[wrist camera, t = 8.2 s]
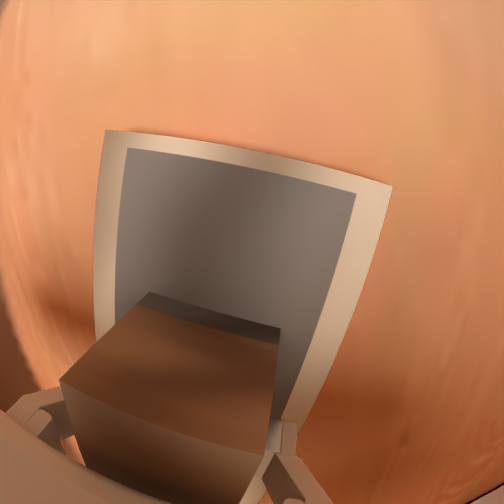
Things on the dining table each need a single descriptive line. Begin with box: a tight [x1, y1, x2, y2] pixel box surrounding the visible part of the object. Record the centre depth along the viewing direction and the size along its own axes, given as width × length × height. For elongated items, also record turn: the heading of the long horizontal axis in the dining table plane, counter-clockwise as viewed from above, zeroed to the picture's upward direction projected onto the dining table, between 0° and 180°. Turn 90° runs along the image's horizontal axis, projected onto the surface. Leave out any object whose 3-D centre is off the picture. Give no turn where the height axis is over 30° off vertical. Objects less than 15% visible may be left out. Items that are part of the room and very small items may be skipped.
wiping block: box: [59, 292, 281, 504], centre depth 8 cm, size 4×7×5 cm, turn 167°
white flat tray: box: [93, 130, 393, 504], centre depth 12 cm, size 9×20×2 cm, turn 168°
